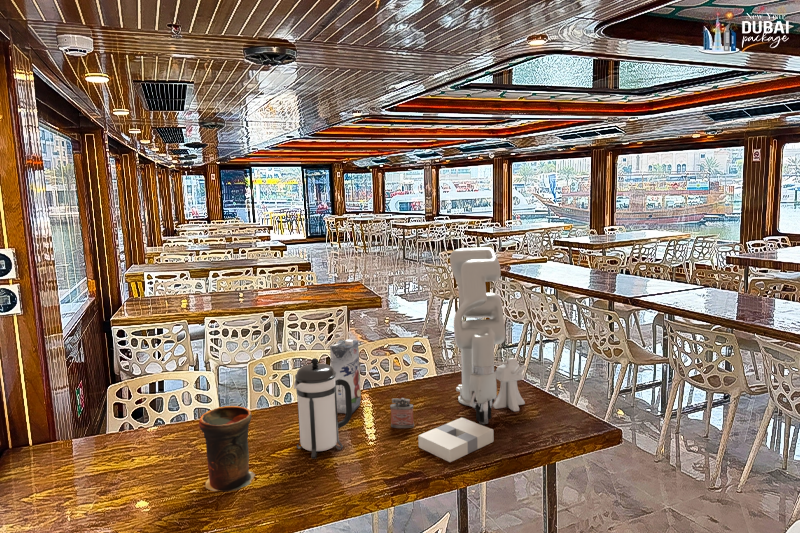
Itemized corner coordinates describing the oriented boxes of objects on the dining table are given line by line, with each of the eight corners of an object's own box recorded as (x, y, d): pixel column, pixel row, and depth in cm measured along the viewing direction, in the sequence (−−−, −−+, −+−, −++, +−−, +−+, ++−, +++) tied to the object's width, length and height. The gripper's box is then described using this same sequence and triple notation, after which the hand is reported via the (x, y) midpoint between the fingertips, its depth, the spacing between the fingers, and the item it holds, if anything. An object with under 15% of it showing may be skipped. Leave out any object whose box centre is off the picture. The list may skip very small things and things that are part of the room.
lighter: (414, 424, 200) (413, 396, 198) (413, 428, 197) (412, 400, 195) (391, 423, 201) (390, 396, 199) (390, 427, 197) (389, 400, 196)
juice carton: (330, 413, 211) (327, 343, 208) (341, 403, 221) (338, 335, 217) (353, 415, 209) (349, 344, 205) (363, 405, 219) (360, 336, 215)
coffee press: (338, 461, 175) (333, 366, 170) (288, 457, 178) (283, 365, 174) (353, 436, 191) (349, 350, 187) (308, 434, 195) (303, 348, 190)
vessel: (236, 462, 176) (232, 400, 173) (265, 477, 167) (261, 412, 164) (193, 482, 165) (188, 416, 162) (222, 499, 156) (217, 430, 153)
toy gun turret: (484, 402, 217) (483, 356, 215) (515, 397, 221) (515, 352, 219) (498, 414, 206) (498, 366, 204) (531, 408, 210) (531, 361, 207)
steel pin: (474, 422, 199) (474, 395, 198) (483, 418, 202) (482, 391, 201) (484, 426, 196) (484, 398, 195) (492, 422, 199) (492, 395, 197)
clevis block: (450, 462, 171) (449, 449, 171) (418, 447, 182) (418, 435, 181) (493, 441, 184) (493, 429, 184) (461, 428, 195) (461, 417, 194)
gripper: (490, 361, 204) (490, 410, 207) (458, 372, 194) (459, 423, 197) (506, 365, 199) (507, 416, 201) (475, 377, 188) (476, 430, 191)
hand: (483, 419), depth 199 cm, fingers closed on steel pin, 3 cm apart
